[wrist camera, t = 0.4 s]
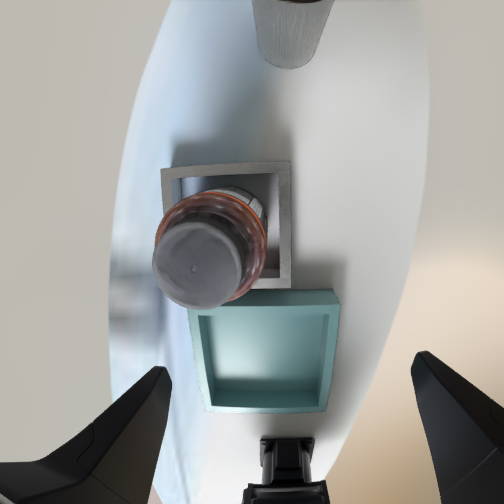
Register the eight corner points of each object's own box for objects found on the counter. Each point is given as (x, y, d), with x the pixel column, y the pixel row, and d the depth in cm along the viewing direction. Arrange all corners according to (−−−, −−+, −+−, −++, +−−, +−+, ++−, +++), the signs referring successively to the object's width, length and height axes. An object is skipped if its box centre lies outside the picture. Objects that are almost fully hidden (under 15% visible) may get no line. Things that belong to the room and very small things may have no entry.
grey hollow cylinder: (321, 65, 19) (353, 1, 9) (265, 73, 20) (259, 8, 10) (306, 20, 18) (323, -55, 8) (252, 28, 18) (239, -47, 9)
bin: (322, 391, 27) (325, 411, 24) (209, 391, 28) (204, 410, 25) (332, 288, 24) (340, 304, 21) (195, 290, 25) (186, 305, 22)
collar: (289, 277, 24) (290, 288, 22) (179, 278, 25) (172, 288, 22) (287, 162, 21) (289, 161, 19) (170, 168, 22) (160, 168, 20)
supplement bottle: (248, 271, 24) (230, 352, 13) (182, 240, 24) (116, 296, 13) (281, 205, 22) (290, 238, 12) (211, 172, 22) (155, 176, 11)
